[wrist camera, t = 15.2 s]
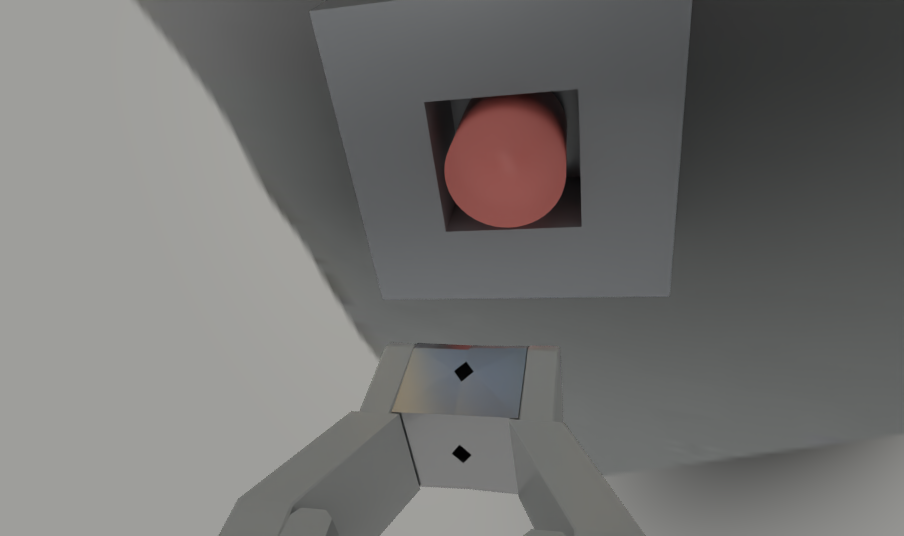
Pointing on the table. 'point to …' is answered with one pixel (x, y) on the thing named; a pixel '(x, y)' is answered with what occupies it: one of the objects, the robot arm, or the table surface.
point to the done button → (508, 158)
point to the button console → (508, 73)
